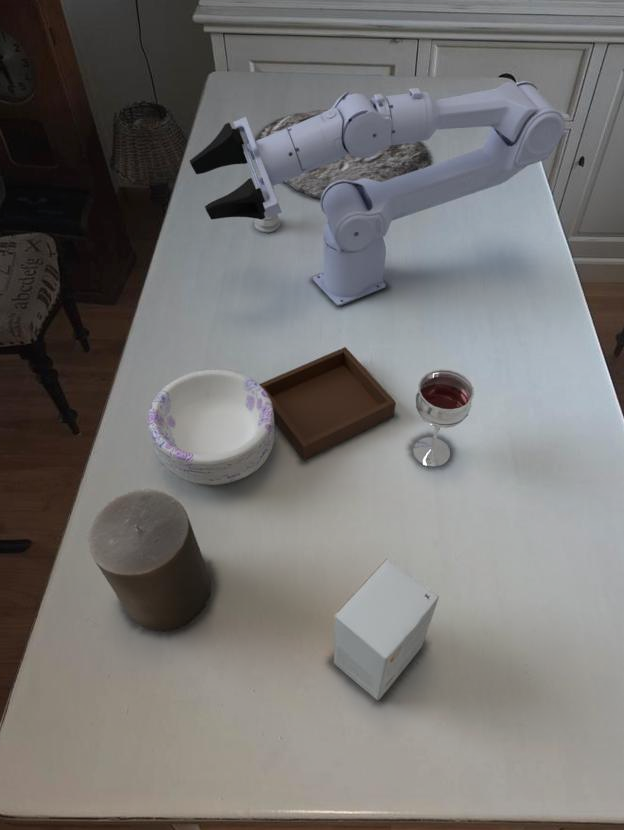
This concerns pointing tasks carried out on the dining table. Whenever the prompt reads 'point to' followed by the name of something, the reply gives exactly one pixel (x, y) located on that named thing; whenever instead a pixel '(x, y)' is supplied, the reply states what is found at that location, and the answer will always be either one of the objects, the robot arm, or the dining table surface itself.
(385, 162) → the worn metal disc
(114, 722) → the dining table surface
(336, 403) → the tray
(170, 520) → the pillar candle
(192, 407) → the paper bowls
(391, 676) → the small box
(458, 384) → the wineglass
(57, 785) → the dining table surface
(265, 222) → the rook chess piece
